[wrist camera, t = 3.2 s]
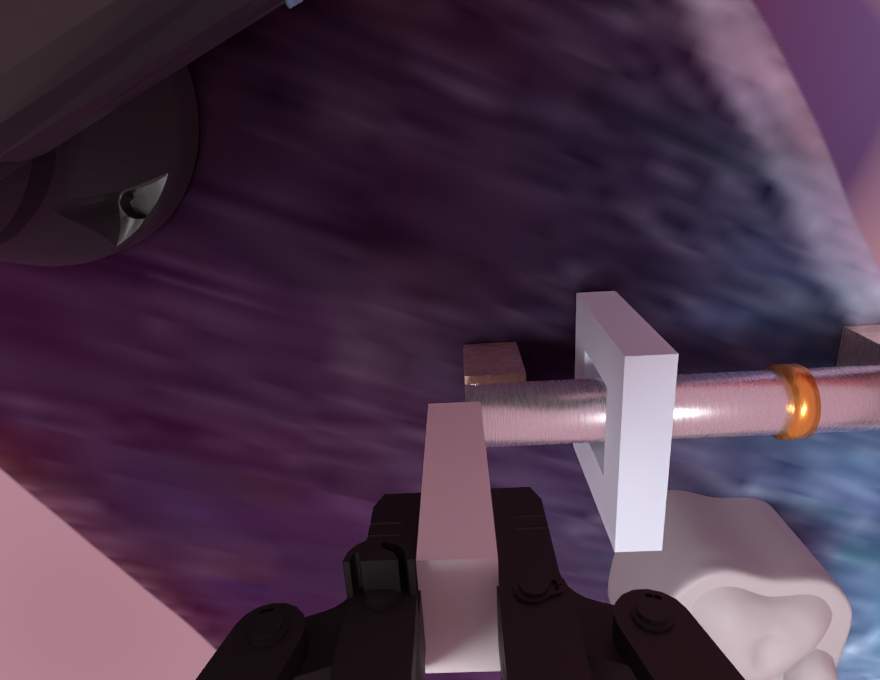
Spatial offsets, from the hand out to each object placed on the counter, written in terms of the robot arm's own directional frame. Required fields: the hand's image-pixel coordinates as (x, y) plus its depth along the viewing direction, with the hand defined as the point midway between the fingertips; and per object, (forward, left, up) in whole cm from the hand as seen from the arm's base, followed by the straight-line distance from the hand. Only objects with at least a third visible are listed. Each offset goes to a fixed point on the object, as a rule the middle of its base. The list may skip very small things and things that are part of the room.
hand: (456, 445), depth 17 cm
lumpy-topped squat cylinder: (+20, +14, -17) cm, 30 cm away
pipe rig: (+4, +12, -16) cm, 21 cm away
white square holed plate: (+4, +7, -15) cm, 17 cm away
